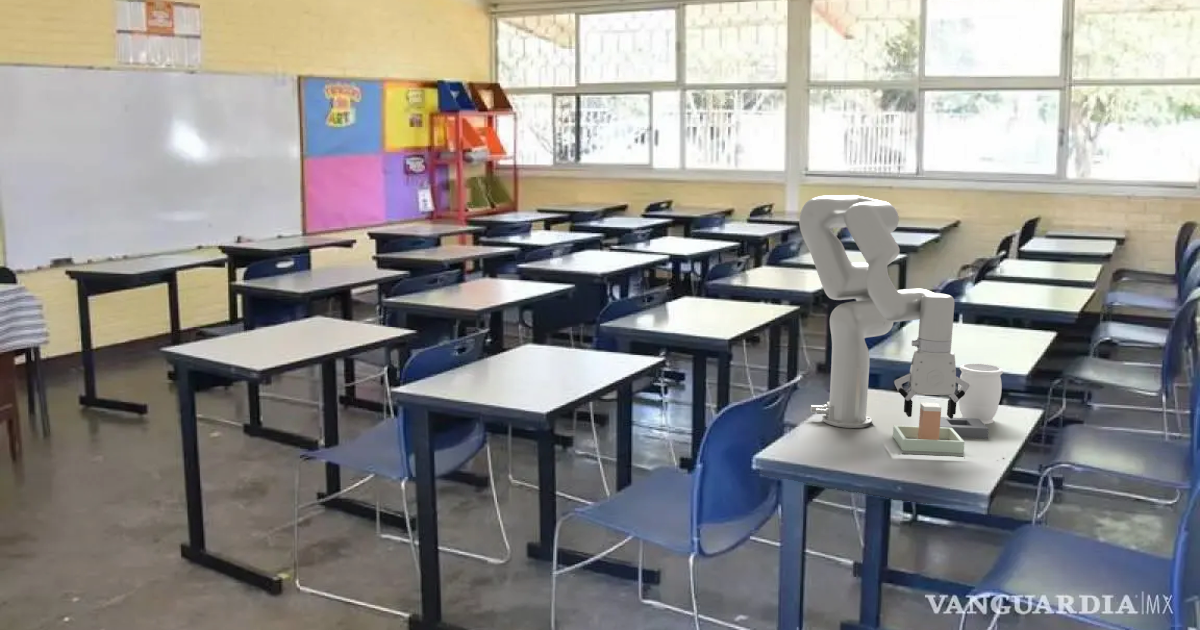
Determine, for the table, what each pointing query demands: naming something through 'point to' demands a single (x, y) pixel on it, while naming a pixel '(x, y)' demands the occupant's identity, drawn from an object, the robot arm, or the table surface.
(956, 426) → the grey block
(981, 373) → the jar
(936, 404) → the plug
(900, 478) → the table surface
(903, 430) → the tray
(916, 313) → the robot arm
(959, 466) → the table surface
